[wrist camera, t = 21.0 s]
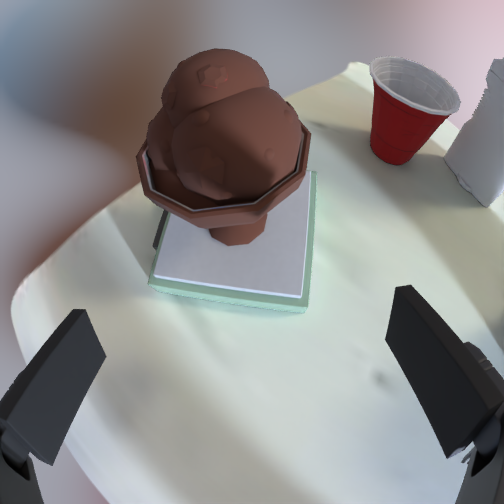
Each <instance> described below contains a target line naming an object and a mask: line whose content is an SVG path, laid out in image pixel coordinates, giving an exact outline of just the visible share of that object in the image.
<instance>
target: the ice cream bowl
mask: <svg viewBox="0 0 504 504" xmlns="http://www.w3.org/2000/svg"><path fill="white" fill-rule="evenodd" d="M161 99H162V104H163V107H162V108H161V110H160V111H159V112H158V114H157V115H156V116H155V118H154V119H153V120H151V122H150V123H149V125H148V132H147V136H146V137H147V139H146V141H145V142H144V144H143V146H142V147H141V149H140V151H139V152H138V154H137V156H136V159H137V164H138V169H139V174H140V178H141V183H142V187H143V191H144V195H145V196H146V197H148V198H149V199H150V200H151V201H152V202H153V203H155V204H156V205H157V206H159V207H161V208H163V209H165V210H166V211H168V212H170V213H172V214H174V215H176V216H178V217H180V218H182V219H183V220H185V221H187V222H189V223H191V224H193V225H195V226H197V227H199V228H203V229H208V230H209V232H210V234H211V237H212V238H214V239H216V240H218V241H220V242H221V243H223V244H225V245H227V246H234V245H244V244H249V243H250V242H252V241H253V240H254V239H255V238H257V237H258V236H259V235H260V234H261V233H263V232H264V228H265V224H266V220H267V215H268V214H267V213H268V212H269V211H271V210H272V209H273V208H274V207H276V206H277V205H278V204H279V203H281V202H282V201H283V200H284V199H286V198H287V197H288V196H290V195H291V194H292V193H293V192H294V191H296V190H297V189H298V188H299V186H300V184H301V182H302V181H303V179H304V177H305V175H306V168H307V161H308V154H309V146H310V139H311V133H310V132H309V131H308V129H307V128H306V127H305V126H304V125H303V124H302V122H301V121H300V120H299V119H298V115H297V113H296V112H295V110H294V108H293V107H292V106H291V105H290V104H289V103H288V102H285V101H284V99H283V98H282V97H281V96H280V95H279V94H278V93H277V92H276V91H274V90H272V89H270V88H269V80H268V78H267V76H266V74H265V72H264V70H263V68H262V67H261V66H260V65H259V64H258V62H257V61H255V60H253V59H252V58H251V57H249V56H247V55H244V54H242V53H239V52H237V51H234V50H229V49H211V50H207V51H203V52H199V53H198V54H195V55H193V56H191V57H189V58H188V59H186V60H184V61H181V62H180V63H179V64H178V66H177V68H176V69H175V70H174V71H173V72H172V74H171V76H170V78H169V80H168V82H167V84H166V85H165V87H164V89H163V93H162V97H161Z"/></svg>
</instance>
